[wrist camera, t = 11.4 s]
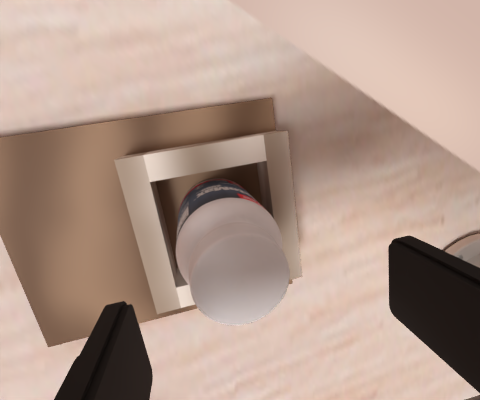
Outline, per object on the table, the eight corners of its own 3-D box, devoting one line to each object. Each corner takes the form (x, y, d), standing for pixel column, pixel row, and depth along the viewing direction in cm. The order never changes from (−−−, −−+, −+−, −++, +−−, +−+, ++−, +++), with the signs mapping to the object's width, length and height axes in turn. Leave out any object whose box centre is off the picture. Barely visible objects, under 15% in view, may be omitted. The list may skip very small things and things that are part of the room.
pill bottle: (260, 184, 19) (323, 228, 11) (244, 253, 20) (289, 342, 12) (184, 170, 18) (187, 207, 9) (171, 244, 19) (163, 337, 10)
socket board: (265, 100, 19) (285, 92, 15) (285, 273, 23) (306, 302, 19) (-20, 142, 16) (-81, 145, 13) (57, 331, 20) (29, 378, 16)
